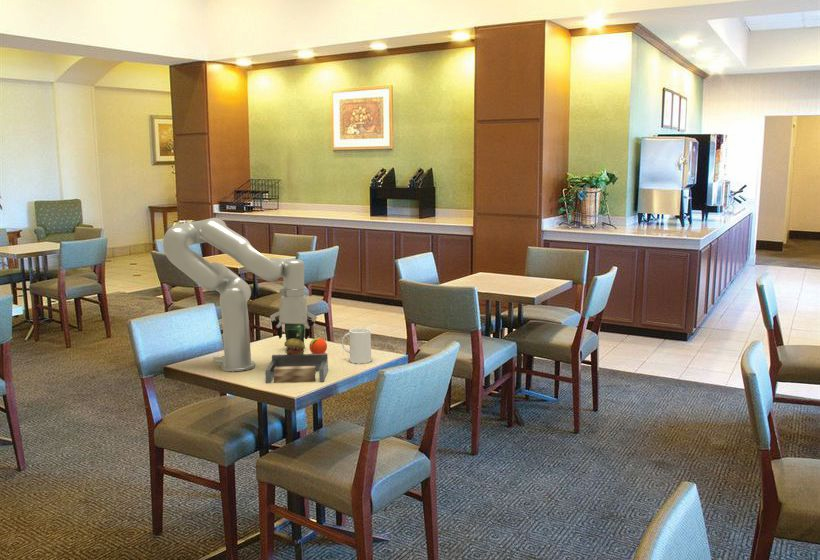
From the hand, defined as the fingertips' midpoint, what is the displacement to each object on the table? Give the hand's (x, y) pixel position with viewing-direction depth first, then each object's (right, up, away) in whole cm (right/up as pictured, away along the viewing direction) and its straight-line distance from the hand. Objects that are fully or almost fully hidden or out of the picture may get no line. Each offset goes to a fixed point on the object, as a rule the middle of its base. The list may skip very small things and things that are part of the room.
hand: (293, 338), depth 259 cm
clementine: (+7, -8, +16) cm, 19 cm away
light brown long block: (+3, -14, -17) cm, 22 cm away
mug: (+23, -9, +7) cm, 26 cm away
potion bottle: (-3, -7, +24) cm, 26 cm away
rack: (+4, -13, -12) cm, 18 cm away
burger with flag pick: (0, -11, +2) cm, 11 cm away
